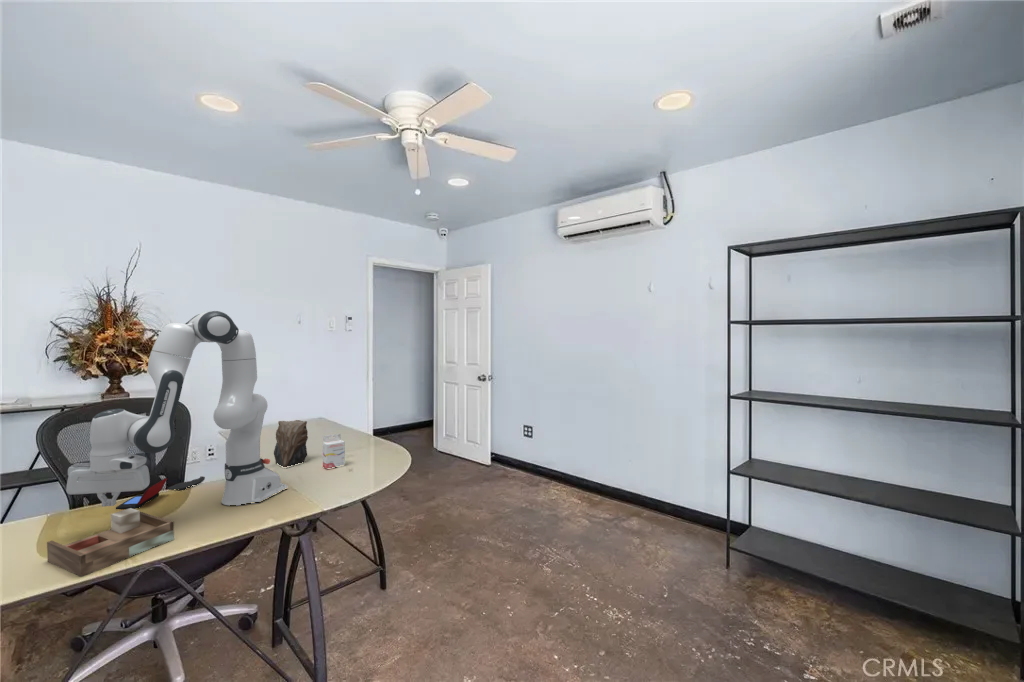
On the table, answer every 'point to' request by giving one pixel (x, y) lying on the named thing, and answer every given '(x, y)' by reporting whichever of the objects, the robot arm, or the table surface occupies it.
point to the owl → (291, 442)
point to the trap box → (110, 546)
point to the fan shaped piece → (187, 484)
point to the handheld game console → (143, 496)
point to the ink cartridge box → (333, 451)
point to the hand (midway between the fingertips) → (109, 505)
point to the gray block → (125, 520)
